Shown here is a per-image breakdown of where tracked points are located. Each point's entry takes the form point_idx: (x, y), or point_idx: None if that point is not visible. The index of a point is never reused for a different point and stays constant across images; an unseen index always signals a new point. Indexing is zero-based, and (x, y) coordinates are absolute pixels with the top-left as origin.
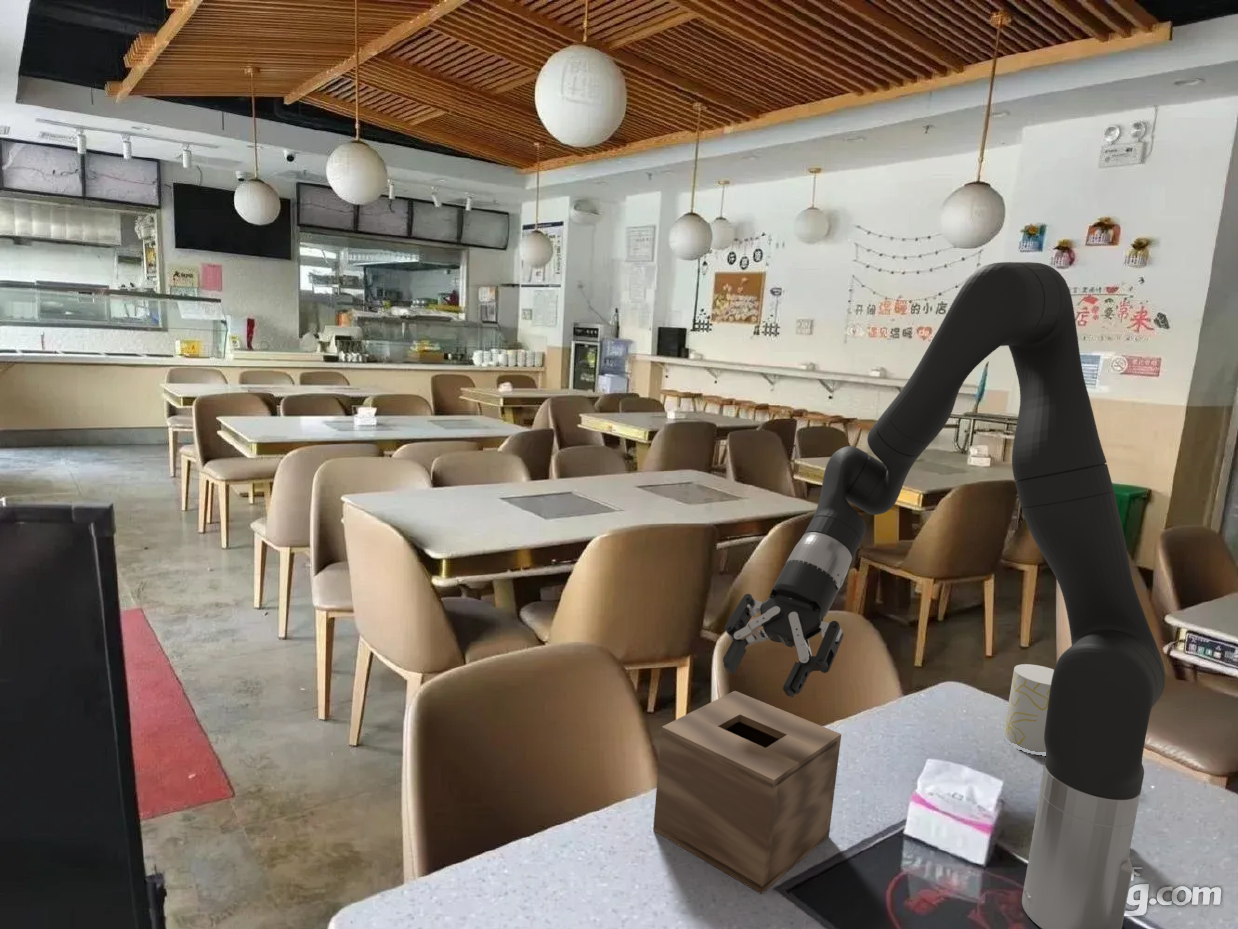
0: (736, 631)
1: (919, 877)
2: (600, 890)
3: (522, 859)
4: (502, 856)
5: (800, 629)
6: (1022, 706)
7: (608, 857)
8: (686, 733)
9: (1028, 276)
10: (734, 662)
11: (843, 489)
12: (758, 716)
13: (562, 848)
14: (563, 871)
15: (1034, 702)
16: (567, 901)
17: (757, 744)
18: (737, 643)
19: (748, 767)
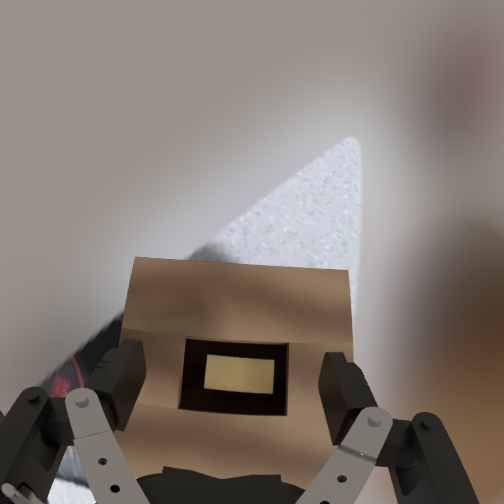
0: (397, 438)
1: None
2: (282, 222)
3: (349, 211)
4: (360, 205)
5: (95, 487)
6: None
7: (308, 257)
8: (309, 280)
9: None
10: (327, 383)
11: None
12: (256, 436)
13: (342, 240)
14: (318, 220)
15: None
16: (290, 199)
17: (199, 336)
18: (354, 400)
19: (177, 260)
